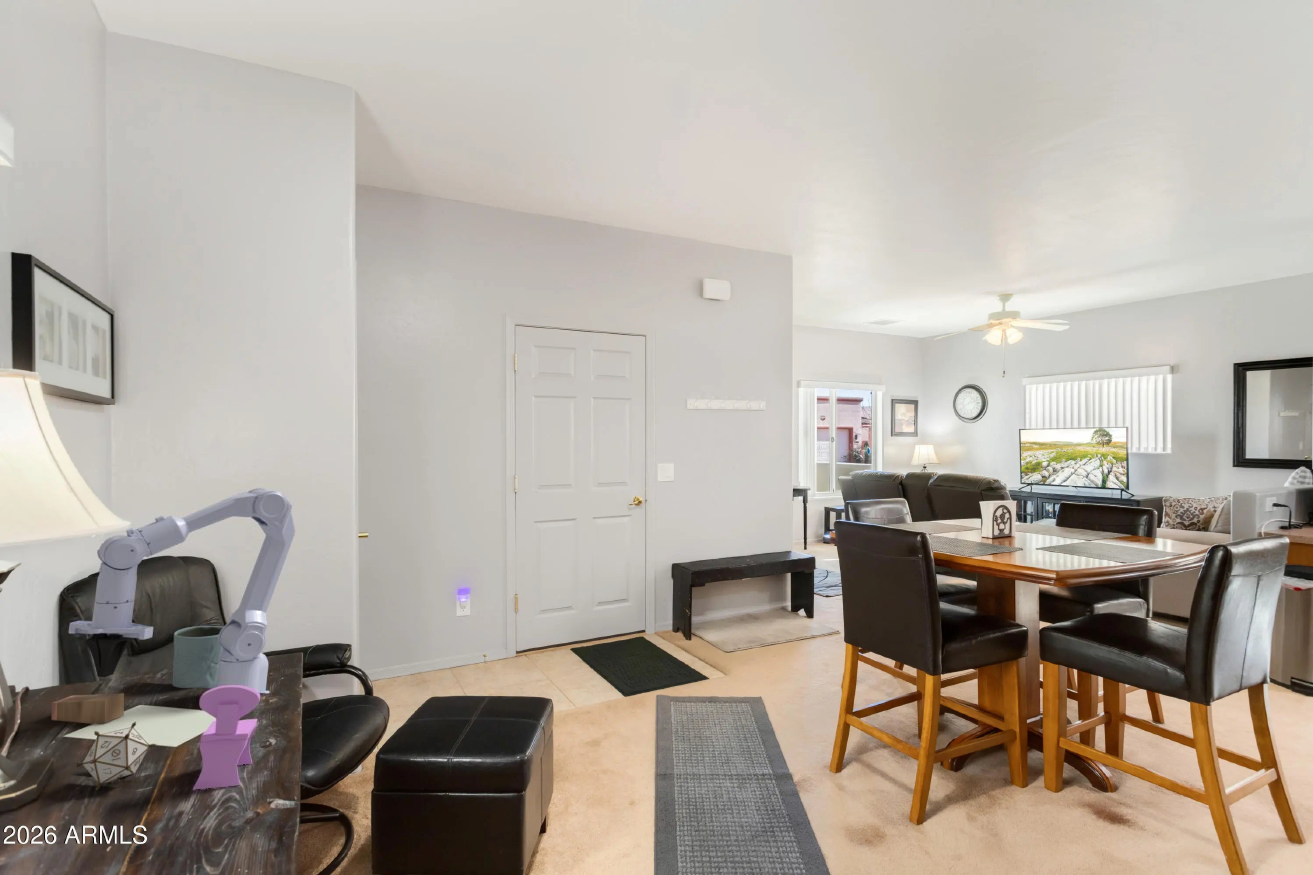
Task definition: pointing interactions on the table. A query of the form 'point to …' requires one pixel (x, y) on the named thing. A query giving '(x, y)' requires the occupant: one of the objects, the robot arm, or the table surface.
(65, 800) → the table surface
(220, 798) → the table surface
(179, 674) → the green cylindrical pot
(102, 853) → the table surface
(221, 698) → the toy chair
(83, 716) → the walnut block
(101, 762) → the game die
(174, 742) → the board
